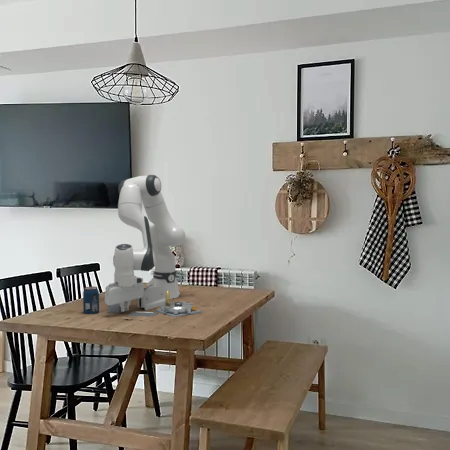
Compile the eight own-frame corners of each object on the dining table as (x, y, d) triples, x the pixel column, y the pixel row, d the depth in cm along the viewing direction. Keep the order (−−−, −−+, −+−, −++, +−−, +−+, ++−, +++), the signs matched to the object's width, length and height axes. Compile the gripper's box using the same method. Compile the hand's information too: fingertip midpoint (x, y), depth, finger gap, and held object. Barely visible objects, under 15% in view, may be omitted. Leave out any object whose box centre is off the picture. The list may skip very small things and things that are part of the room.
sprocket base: (155, 311, 238) (155, 309, 238) (182, 306, 248) (182, 304, 248) (174, 318, 227) (174, 316, 227) (201, 313, 236) (201, 310, 236)
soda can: (88, 311, 239) (87, 285, 238) (102, 312, 237) (101, 286, 236) (80, 315, 232) (79, 289, 231) (94, 316, 230) (93, 289, 229)
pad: (124, 320, 224) (124, 318, 224) (132, 312, 236) (132, 310, 236) (151, 321, 223) (151, 319, 223) (158, 313, 235) (158, 311, 235)
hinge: (145, 310, 240) (143, 289, 240) (137, 310, 243) (135, 289, 242) (168, 303, 254) (166, 283, 254) (160, 303, 257) (158, 283, 256)
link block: (119, 314, 234) (108, 314, 234) (122, 311, 239) (111, 311, 239) (118, 303, 233) (107, 303, 234) (122, 301, 238) (111, 300, 239)
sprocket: (157, 313, 230) (157, 295, 229) (164, 304, 246) (164, 287, 245) (193, 314, 229) (193, 295, 228) (197, 305, 245) (197, 287, 244)
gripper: (110, 285, 222) (111, 317, 223) (145, 278, 238) (146, 307, 239) (101, 283, 226) (101, 314, 227) (136, 276, 241) (137, 305, 243)
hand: (124, 311), depth 233 cm, fingers closed
